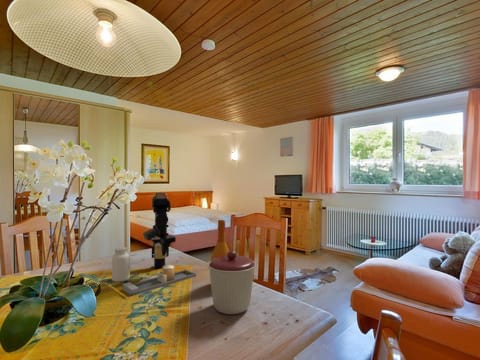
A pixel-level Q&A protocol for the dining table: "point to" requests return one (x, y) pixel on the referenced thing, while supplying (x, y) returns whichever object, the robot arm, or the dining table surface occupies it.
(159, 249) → the amber jar
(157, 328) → the dining table surface
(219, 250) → the wine bottle
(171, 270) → the amber jar
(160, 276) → the pusher
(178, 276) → the tray
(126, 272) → the pill bottle
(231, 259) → the canister
